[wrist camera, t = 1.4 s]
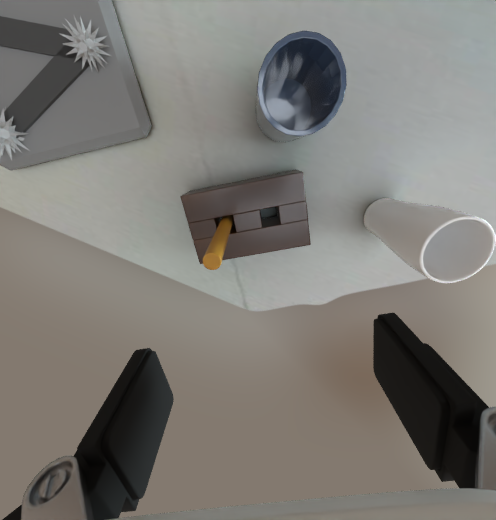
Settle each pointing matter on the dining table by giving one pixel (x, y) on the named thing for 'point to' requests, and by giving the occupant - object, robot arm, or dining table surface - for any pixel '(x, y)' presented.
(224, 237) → the orange rod
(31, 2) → the decorative plate
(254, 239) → the brown wooden block
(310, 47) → the tumbler
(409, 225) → the drinking glass
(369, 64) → the dining table surface
